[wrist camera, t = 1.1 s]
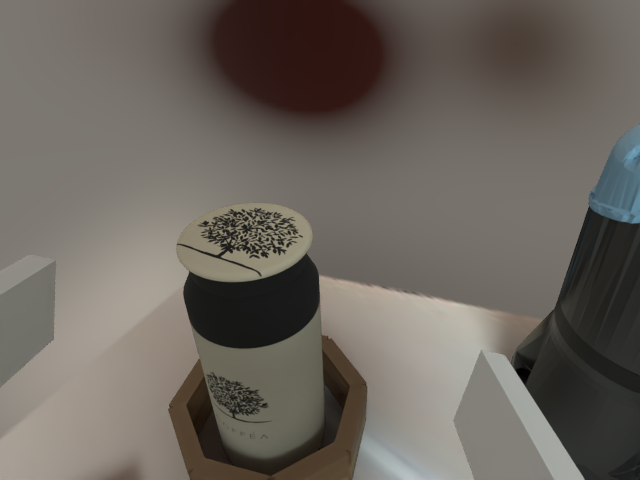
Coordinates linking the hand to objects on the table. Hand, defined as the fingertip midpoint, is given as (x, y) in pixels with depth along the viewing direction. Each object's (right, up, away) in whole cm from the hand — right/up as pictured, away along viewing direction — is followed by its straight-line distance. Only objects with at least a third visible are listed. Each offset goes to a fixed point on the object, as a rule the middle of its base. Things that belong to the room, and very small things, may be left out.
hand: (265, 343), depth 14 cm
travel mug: (-2, -12, +21) cm, 24 cm away
